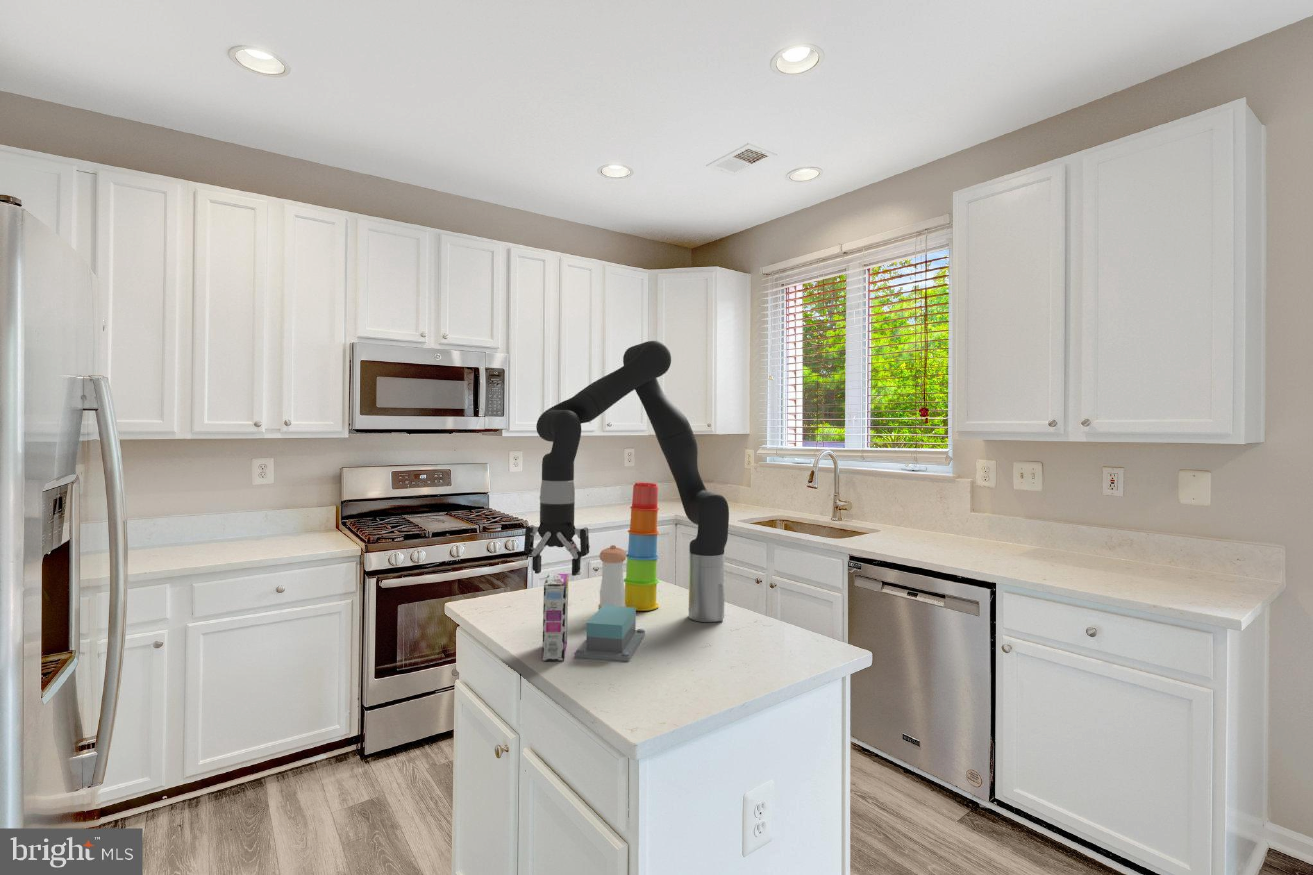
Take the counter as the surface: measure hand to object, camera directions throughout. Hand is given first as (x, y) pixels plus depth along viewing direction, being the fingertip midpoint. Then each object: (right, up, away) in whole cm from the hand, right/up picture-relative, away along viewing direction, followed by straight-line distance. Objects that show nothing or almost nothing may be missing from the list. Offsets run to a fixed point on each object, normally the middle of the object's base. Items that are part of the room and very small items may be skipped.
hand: (556, 573), depth 138 cm
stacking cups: (+18, -17, +37) cm, 44 cm away
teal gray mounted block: (+12, -18, +5) cm, 22 cm away
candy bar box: (0, -18, 0) cm, 18 cm away
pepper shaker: (+11, -17, +26) cm, 33 cm away
